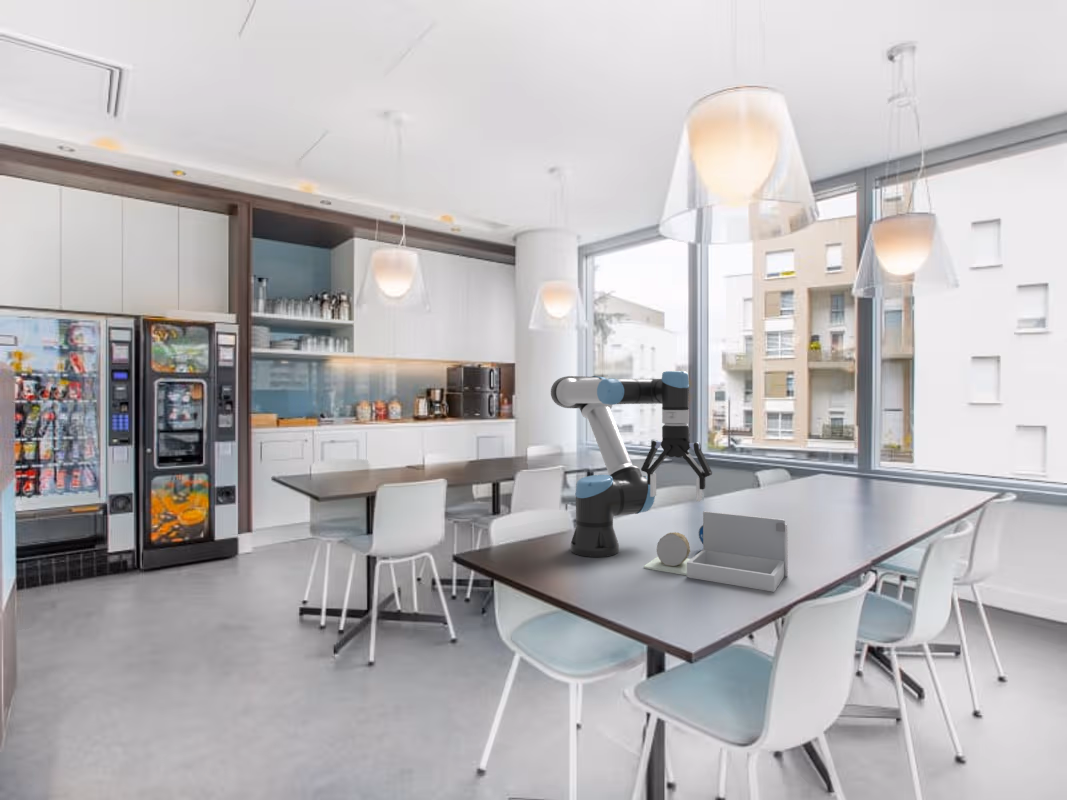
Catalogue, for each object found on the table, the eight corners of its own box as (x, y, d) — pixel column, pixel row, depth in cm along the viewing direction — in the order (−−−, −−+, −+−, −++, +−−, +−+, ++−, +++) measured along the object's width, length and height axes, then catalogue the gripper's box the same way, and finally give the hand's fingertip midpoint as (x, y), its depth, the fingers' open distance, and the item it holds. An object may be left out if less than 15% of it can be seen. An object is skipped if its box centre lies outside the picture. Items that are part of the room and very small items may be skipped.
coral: (648, 542, 160) (659, 522, 168) (656, 572, 163) (667, 550, 171) (681, 544, 155) (691, 523, 163) (689, 574, 158) (698, 552, 166)
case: (686, 577, 153) (686, 521, 153) (704, 562, 166) (703, 511, 166) (777, 592, 141) (777, 532, 141) (788, 575, 154) (788, 519, 154)
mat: (643, 568, 161) (643, 566, 161) (661, 556, 173) (661, 554, 173) (692, 576, 154) (692, 574, 154) (707, 563, 166) (707, 561, 166)
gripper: (630, 424, 167) (630, 496, 168) (715, 426, 154) (715, 505, 154) (640, 423, 174) (640, 492, 174) (723, 425, 160) (723, 500, 160)
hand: (675, 498), depth 164 cm, fingers open, 13 cm apart
